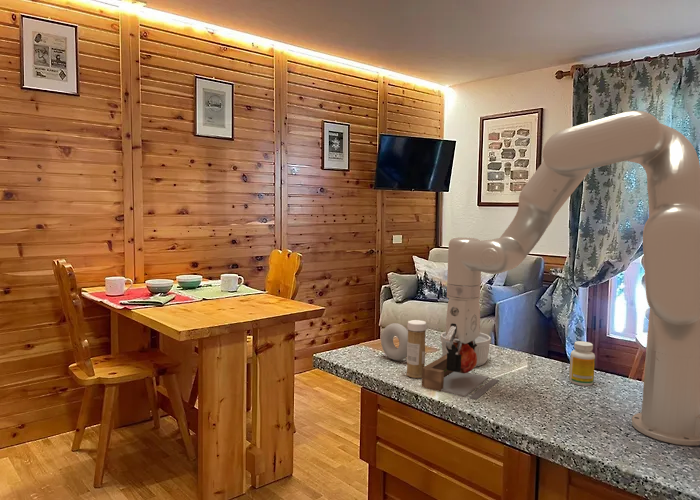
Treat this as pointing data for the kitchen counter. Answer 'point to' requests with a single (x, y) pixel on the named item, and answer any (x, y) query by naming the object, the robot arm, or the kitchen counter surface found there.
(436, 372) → the backstop rail
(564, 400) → the kitchen counter surface
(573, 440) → the kitchen counter surface
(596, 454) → the kitchen counter surface
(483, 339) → the ramekin
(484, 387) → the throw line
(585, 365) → the supplement bottle
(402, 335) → the donut
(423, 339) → the sprinkles bottle
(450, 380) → the mat
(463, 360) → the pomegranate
